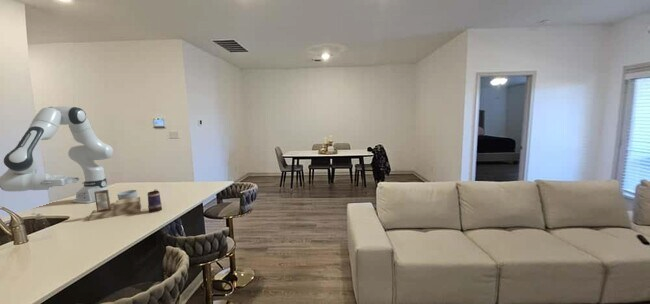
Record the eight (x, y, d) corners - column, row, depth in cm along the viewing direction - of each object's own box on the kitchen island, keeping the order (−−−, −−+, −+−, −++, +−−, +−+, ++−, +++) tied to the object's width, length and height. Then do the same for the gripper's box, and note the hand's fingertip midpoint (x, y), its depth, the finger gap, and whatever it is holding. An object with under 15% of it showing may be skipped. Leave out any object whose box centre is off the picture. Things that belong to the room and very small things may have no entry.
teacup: (131, 205, 187) (129, 193, 186) (114, 206, 187) (112, 194, 186) (144, 199, 201) (143, 188, 200) (129, 199, 201) (127, 188, 200)
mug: (160, 211, 173) (157, 192, 171) (147, 213, 171) (144, 193, 170) (165, 206, 183) (163, 188, 181) (152, 207, 181) (150, 189, 180)
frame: (97, 212, 166) (94, 192, 164) (98, 211, 169) (95, 191, 167) (110, 210, 169) (107, 190, 167) (110, 209, 172) (108, 189, 170)
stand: (90, 220, 162) (88, 208, 161) (93, 215, 171) (92, 203, 170) (140, 212, 174) (138, 200, 173) (141, 207, 182) (140, 196, 181)
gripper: (39, 177, 145) (75, 176, 153) (47, 174, 162) (79, 172, 170) (39, 190, 145) (75, 187, 153) (47, 185, 162) (80, 183, 170)
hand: (77, 179), depth 161 cm, fingers open, 8 cm apart
